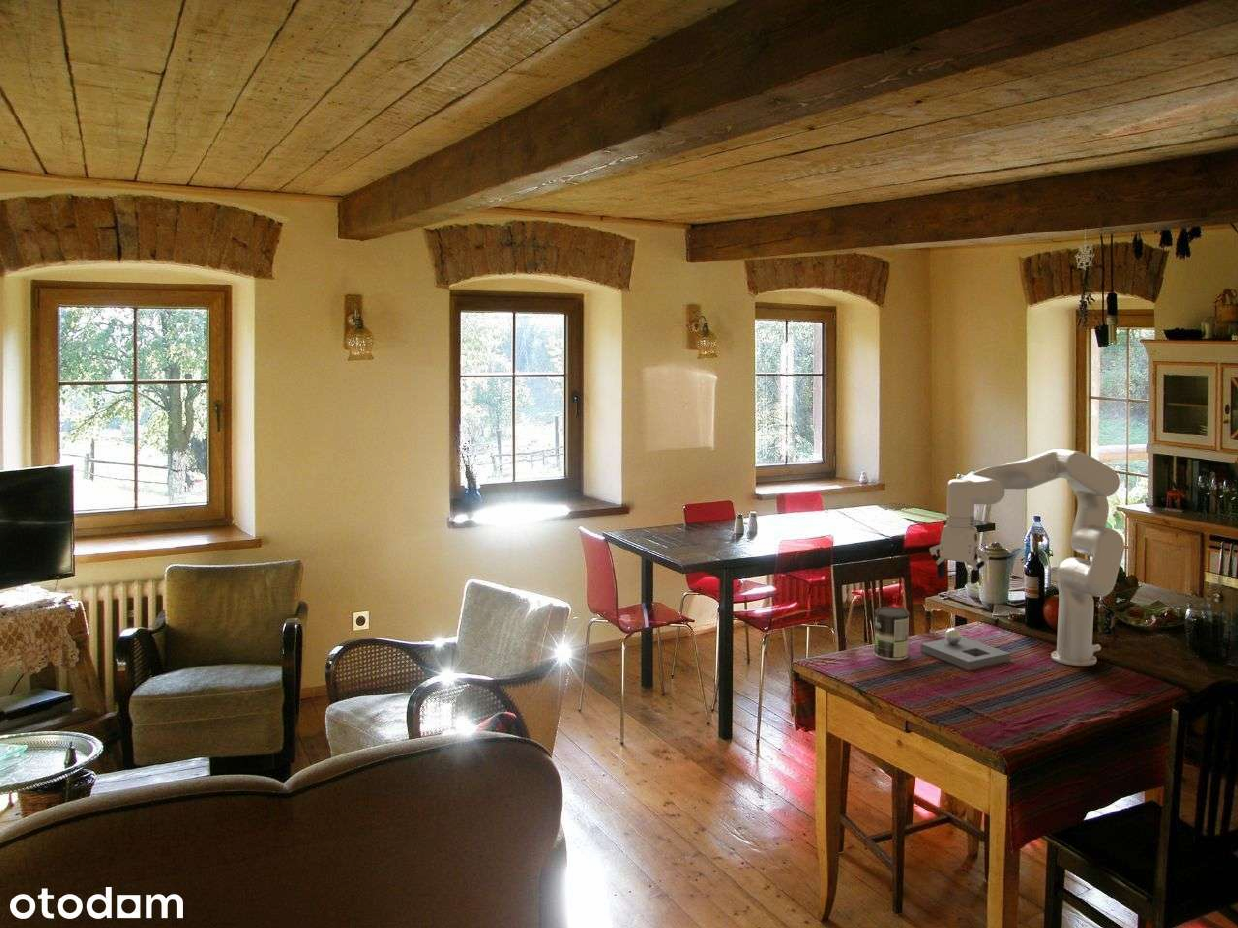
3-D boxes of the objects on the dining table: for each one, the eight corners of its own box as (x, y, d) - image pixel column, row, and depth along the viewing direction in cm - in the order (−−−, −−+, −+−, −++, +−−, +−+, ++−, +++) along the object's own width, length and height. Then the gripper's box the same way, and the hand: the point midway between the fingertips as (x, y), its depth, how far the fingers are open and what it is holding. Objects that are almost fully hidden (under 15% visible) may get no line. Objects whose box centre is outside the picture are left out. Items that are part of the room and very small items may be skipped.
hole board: (960, 643, 324) (960, 635, 324) (1009, 660, 306) (1010, 653, 306) (920, 651, 316) (920, 643, 316) (968, 670, 299) (968, 661, 298)
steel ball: (952, 640, 319) (953, 625, 318) (964, 644, 314) (965, 629, 314) (940, 642, 316) (941, 627, 316) (952, 647, 312) (953, 631, 311)
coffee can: (876, 660, 309) (877, 615, 307) (872, 649, 319) (873, 606, 317) (910, 661, 307) (912, 616, 305) (905, 650, 317) (907, 607, 316)
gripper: (994, 523, 286) (992, 582, 288) (936, 516, 297) (934, 573, 300) (984, 527, 281) (982, 587, 283) (925, 520, 292) (923, 578, 294)
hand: (957, 580), depth 291 cm, fingers open, 9 cm apart
